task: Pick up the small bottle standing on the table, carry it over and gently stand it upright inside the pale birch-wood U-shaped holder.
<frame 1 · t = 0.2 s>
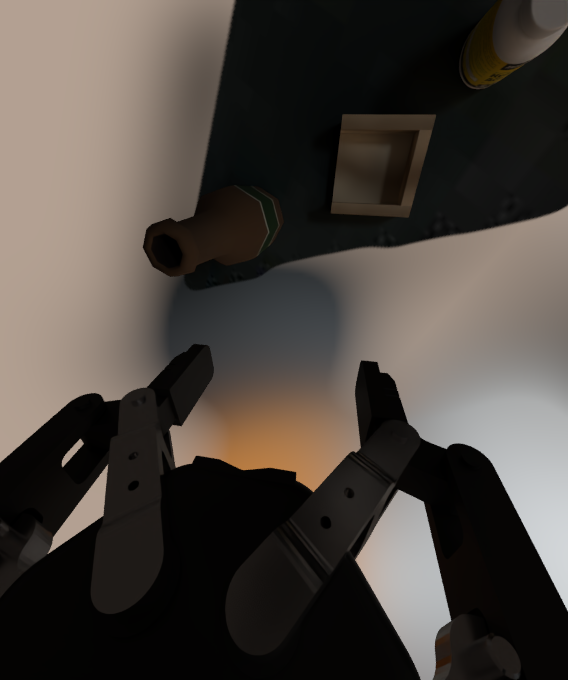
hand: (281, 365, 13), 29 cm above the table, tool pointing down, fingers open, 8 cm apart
beer bottle: (259, 217, 36), on the table
supplement bottle: (487, 54, 25), on the table
u holder: (373, 171, 31), on the table
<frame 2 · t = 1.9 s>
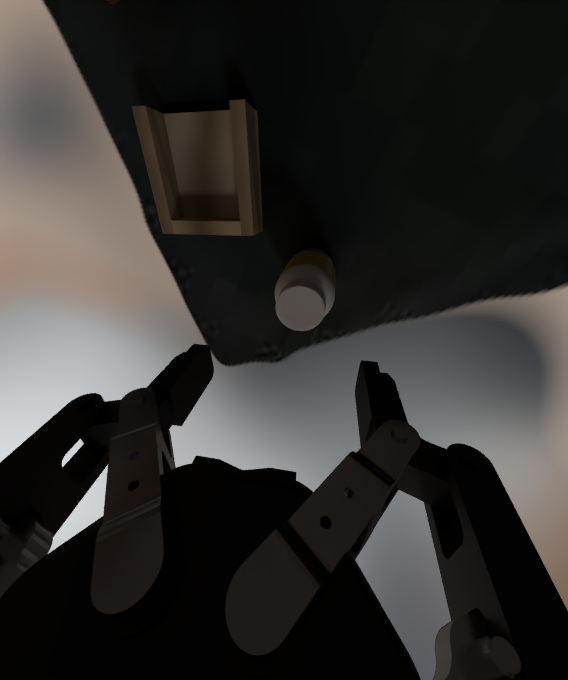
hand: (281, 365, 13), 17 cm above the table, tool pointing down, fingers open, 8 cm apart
supplement bottle: (310, 272, 28), on the table
u holder: (214, 177, 24), on the table
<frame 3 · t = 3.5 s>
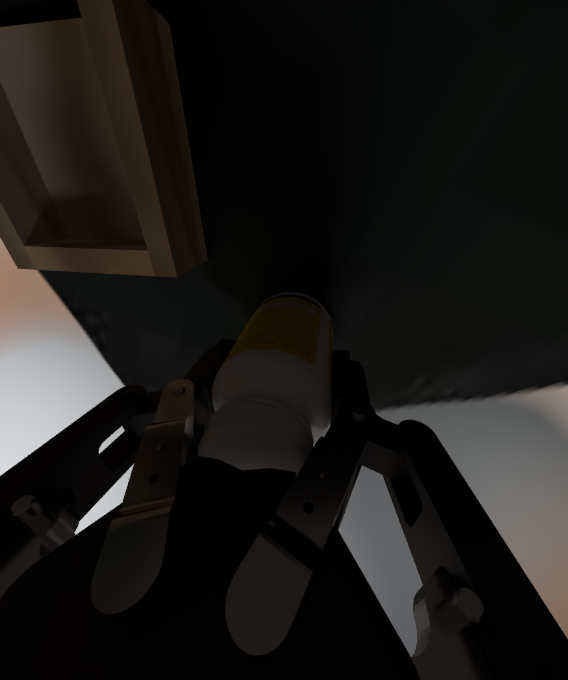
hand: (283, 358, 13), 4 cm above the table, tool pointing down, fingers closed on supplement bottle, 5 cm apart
supplement bottle: (293, 326, 17), on the table, touching gripper
u holder: (110, 166, 13), on the table
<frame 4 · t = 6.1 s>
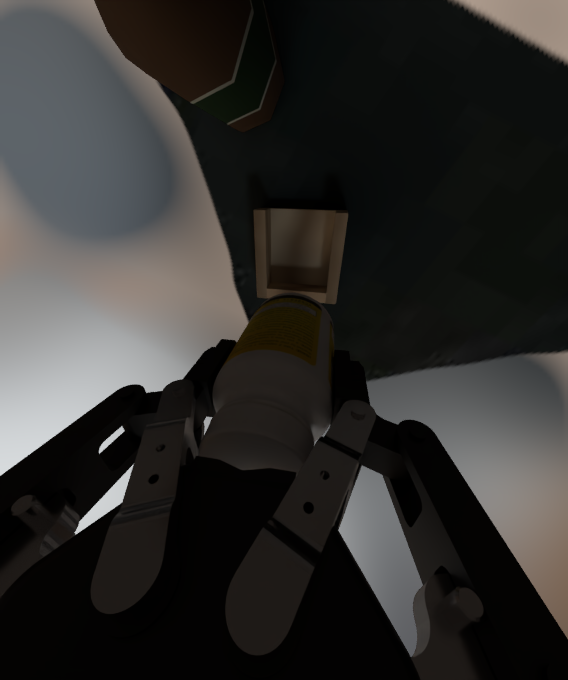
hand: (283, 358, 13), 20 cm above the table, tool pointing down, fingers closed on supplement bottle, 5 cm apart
beer bottle: (245, 80, 23), on the table
supplement bottle: (293, 327, 17), point 16 cm above the table, touching gripper
u holder: (301, 253, 30), on the table
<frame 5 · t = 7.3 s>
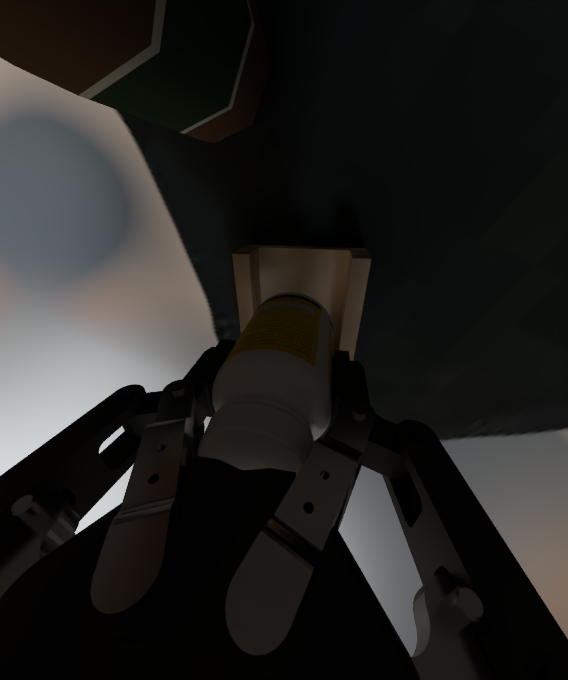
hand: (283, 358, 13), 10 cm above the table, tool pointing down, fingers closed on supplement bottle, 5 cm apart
beer bottle: (214, 66, 15), on the table
supplement bottle: (293, 327, 17), point 6 cm above the table, touching gripper
u holder: (302, 301, 22), on the table
when the fingers open (6 cm above the table, at t = 8.6 s): supplement bottle drops 1 cm, resting on u holder.
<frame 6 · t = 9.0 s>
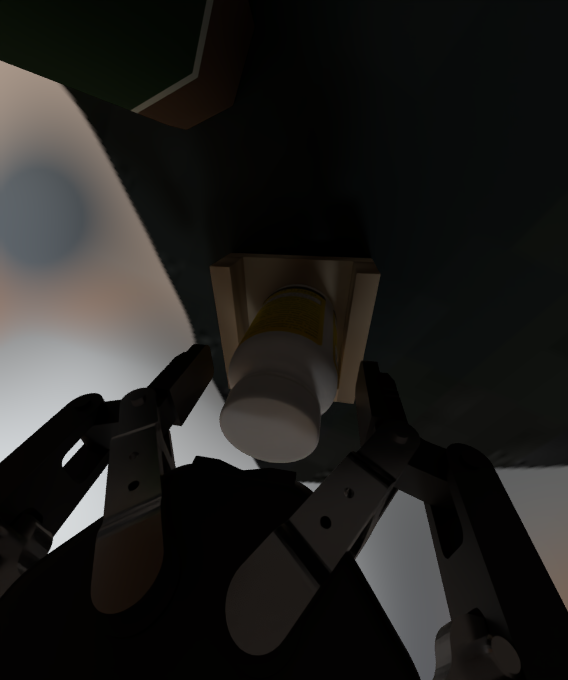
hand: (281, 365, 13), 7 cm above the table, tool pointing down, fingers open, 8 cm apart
beer bottle: (182, 31, 12), on the table
supplement bottle: (298, 317, 18), point 1 cm above the table, touching u holder
u holder: (296, 318, 19), on the table
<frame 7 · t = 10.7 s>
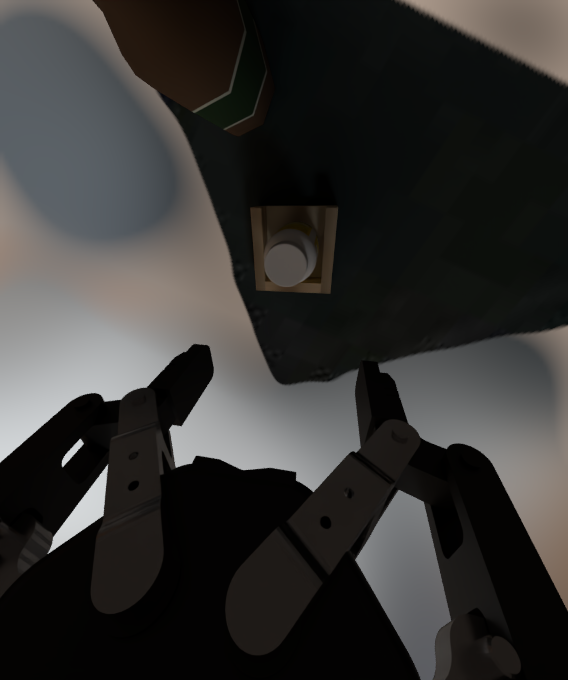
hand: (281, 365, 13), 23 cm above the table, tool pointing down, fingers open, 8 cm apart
beer bottle: (239, 89, 25), on the table
supplement bottle: (297, 244, 31), point 1 cm above the table, touching u holder
u holder: (296, 247, 31), on the table
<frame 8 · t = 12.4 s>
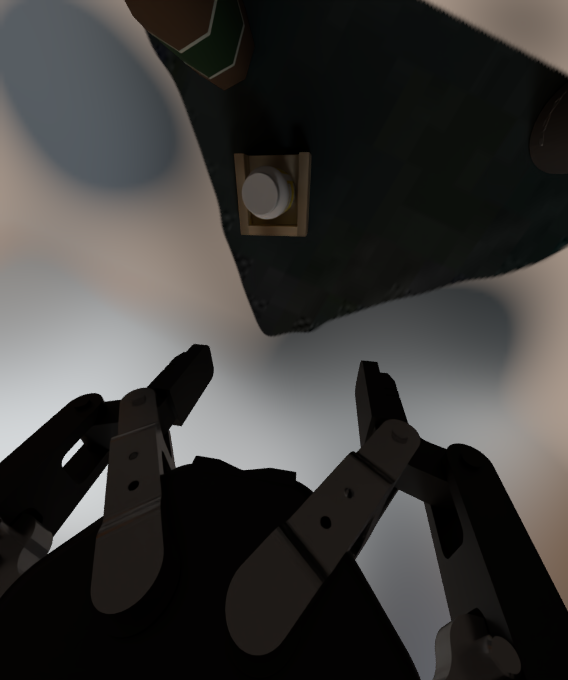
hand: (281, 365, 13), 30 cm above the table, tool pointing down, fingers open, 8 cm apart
beer bottle: (224, 47, 29), on the table
supplement bottle: (277, 192, 34), point 1 cm above the table, touching u holder
u holder: (276, 196, 35), on the table
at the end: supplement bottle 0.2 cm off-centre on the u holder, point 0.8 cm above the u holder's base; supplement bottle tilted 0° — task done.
